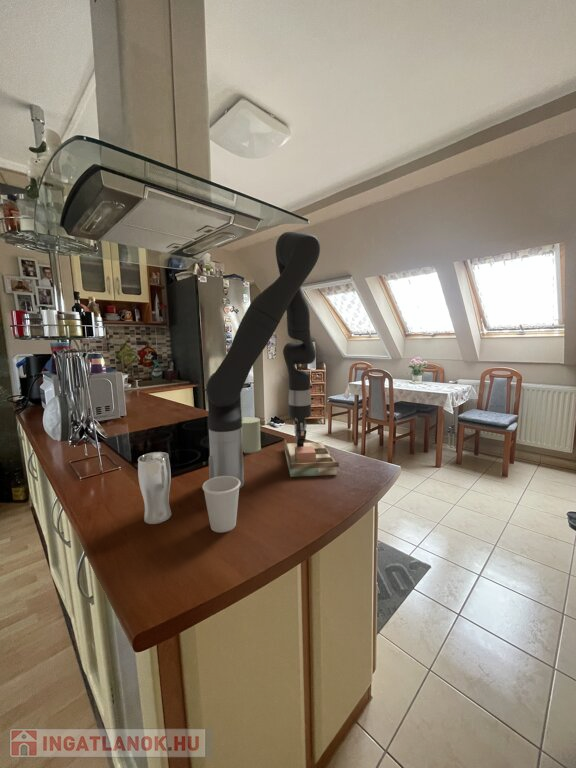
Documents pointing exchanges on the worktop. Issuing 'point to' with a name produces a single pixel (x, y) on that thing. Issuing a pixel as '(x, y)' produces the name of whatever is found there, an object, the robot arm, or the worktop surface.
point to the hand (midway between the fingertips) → (300, 451)
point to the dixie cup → (222, 502)
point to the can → (251, 434)
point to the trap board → (320, 467)
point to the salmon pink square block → (305, 454)
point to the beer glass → (155, 486)
